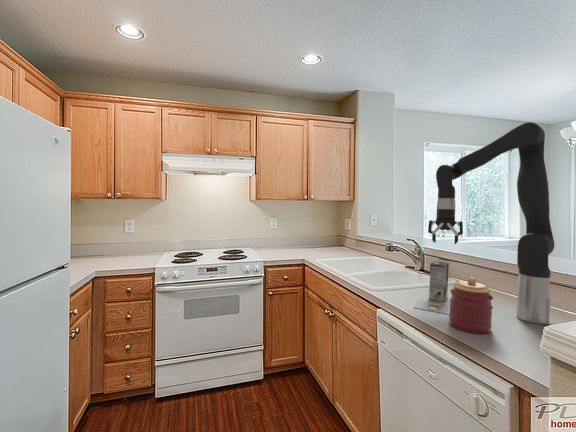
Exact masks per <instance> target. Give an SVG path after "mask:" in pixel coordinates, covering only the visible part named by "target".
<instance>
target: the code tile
mask: <svg viewBox="0 0 576 432" xmlns="http://www.w3.org/2000/svg"><path fill="white" fill-rule="evenodd" d="M413 309H418V310H422V311H428V312H433V313H439V314H443V315H450V303H447V302H442V301H434V300H427V299H424V298H423V299H422V298H418V300H417V301H416V302H415V305H414V307H413Z"/></svg>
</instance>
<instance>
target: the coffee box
mask: <svg viewBox="0 0 576 432" xmlns="http://www.w3.org/2000/svg"><path fill="white" fill-rule="evenodd" d="M449 265H450V263H449V262H443V261H435V260H434V261H433V262H432V263H430V267H429V268H430V270H429V288H428V299H431V300H436V301H438V302H445V300H446V299H447V297H448V292H449V291H448V289H449V267H450V266H449Z"/></svg>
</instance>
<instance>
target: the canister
mask: <svg viewBox="0 0 576 432" xmlns="http://www.w3.org/2000/svg"><path fill="white" fill-rule="evenodd" d="M452 285H453V288H452V289H450V294H451V298H450V299H449V302H450V303H449V304H450V315H449V316H448V319H449V324H450V325H451V326H452V327H453V328H455V329H458V330H460V331H463V332H465V333H466V332H467V333H470V334H477V335H478V334H479V335H481V334H482V335H483V334H489V333H490V332H492V331H491V330H492V326H493V323H492V317H493V316H492V314H493V308H494V307H493V305H492V300H493V299H494V296H493V295H492V294H490V293H491V291H492V290H491V289H490V288H489V287H487V286H486V285H485V284H483V283H480V282H477V279H476V278H475V277H468V278H467V280H460V281H458V282H455V283H453V284H452Z"/></svg>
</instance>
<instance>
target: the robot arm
mask: <svg viewBox="0 0 576 432" xmlns="http://www.w3.org/2000/svg"><path fill="white" fill-rule="evenodd" d="M545 139H546V134H545V130H544V128H542V127H541V126H540V125H539V124H537V123H536V122H532V121H527V122H523V123H521V124H518V125H517V126H515V127H514V128H512V129H511V130H509V131H508V132H506V133H505V134H502V135H501V136H499V137H498V138H496V139H495V140H494V141H491V142H490V143H488V144H486V145H484V146H482V147H481V148H478V149H476V150H474V151H472V152H471V153H468V154H466V155H464V156H462V157H460V158H459V159H458V160H457V161H456V162H455V163H452V164H451V165H449V164H441V165H440V166H438V168H436V173H435V179H436V184H437V189H438V191H437V203H436V220H431V219H430V220H429V221H428V226H427V227H428V229H427V232H428V234H431V237H432V238H431V241H432V242H433V243H436V242H437V234H436V233H438V232H439V230H440V231H450V230H451V232H452V233H453V234H454V241H453V243H454V245H457V243H458V242H459V236H461V235H462V236H463V235H464V229H463V228H464V227H463V224H464V223H463V221H462V220H461V221H456V188H455V186H454V184H453V181H454V180H457V179H458V178H460V177H462V176H464V175H465V174H466V173H468V172H471V171H473V170H476V169H478V168H480V167H483V166H484V165H486V164H487V163H489V162H490V161H491V162H492V161H493V160H494V159H495V158H497V157H498V156H500V155H502V154H504V153H507V152H509V151H513V150H515V149H518V153H519V161H520V162H519V163H520V165H519V170H518V175H517V181H516V187H517V189H516V190H517V199H518V200H517V201H518V203H519V206H520V209H521V212H522V214H523V217H524V219H525V224H526V225H525V228H526V229H525V230H526V231H525V234H524V235H522V236H521V237H520V239H519V240H518V242H517V259H516V260H517V267H518V278H517V279H518V283H517V297H516V301H517V302H516V312H515V313H516V314H515V315H516V318H517V319H520V320H521V321H524V322H528V323H533V324H538V325H549V324H550V315H551V314H550V313H551V298H550V283H551V273H552V272H551V269H550V267H549V255H550V254H551V253H553V251H554V249H555V240H554V236H553V235H554V234H553V232H552V227H551V220H550V190H549V181H548V173H547V169H546V165H545V164H546V162H545V143H546V142H545V141H546V140H545ZM434 224H435V225H436V226H437V227H436V228H435V229H434V230H432V229H433V226H434ZM455 225H456V226H457V227H459V232H457V230H456V229H455Z"/></svg>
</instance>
